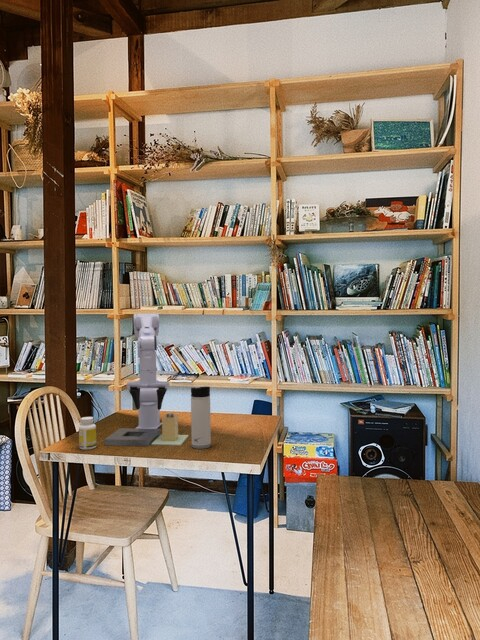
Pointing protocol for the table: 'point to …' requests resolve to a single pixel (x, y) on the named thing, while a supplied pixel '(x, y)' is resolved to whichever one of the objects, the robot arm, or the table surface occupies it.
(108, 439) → the square plate with hole
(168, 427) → the end cover
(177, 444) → the mat
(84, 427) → the supplement bottle
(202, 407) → the travel mug
